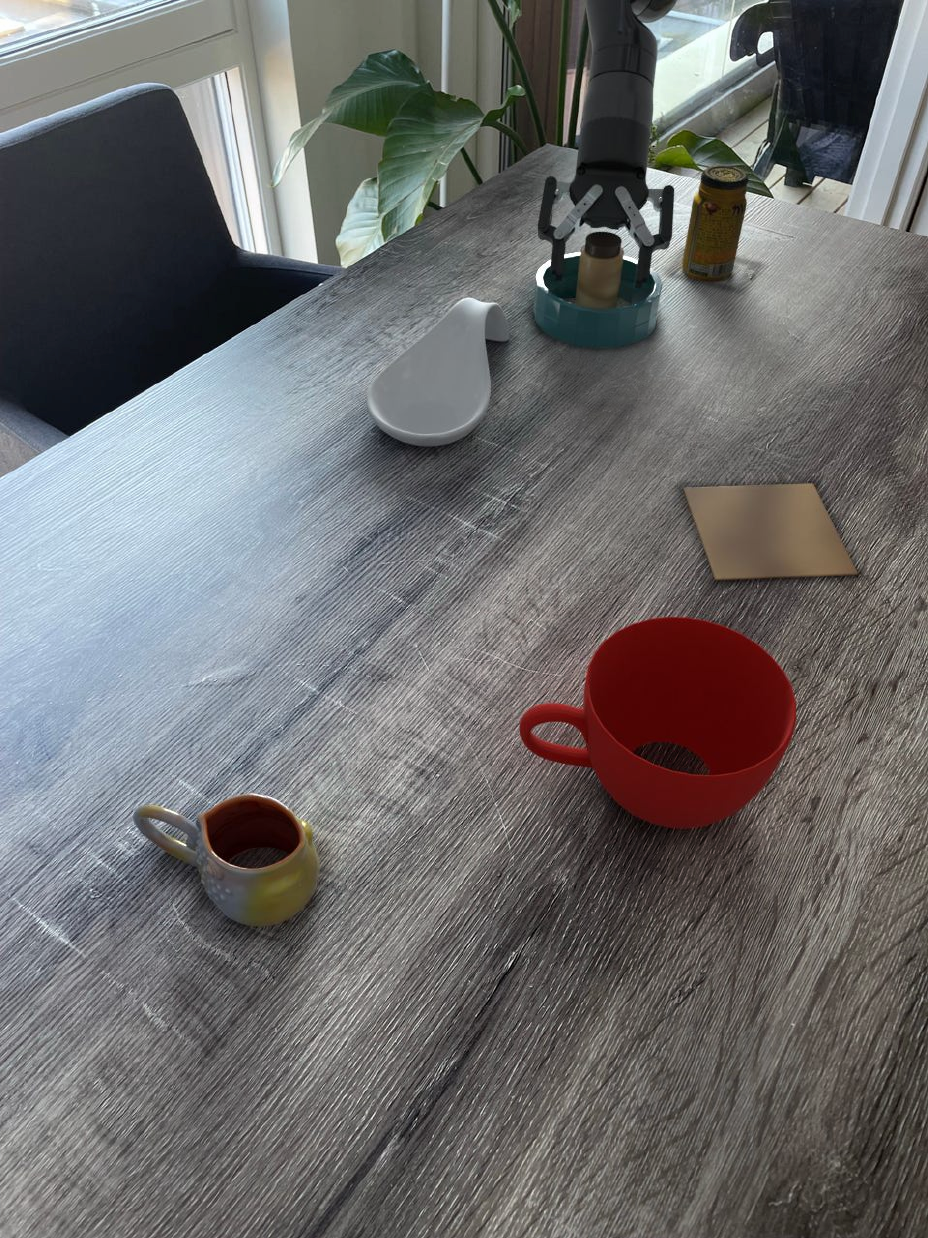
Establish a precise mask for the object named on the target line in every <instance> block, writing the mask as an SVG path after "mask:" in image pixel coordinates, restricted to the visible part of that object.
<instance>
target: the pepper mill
mask: <svg viewBox="0 0 928 1238" xmlns="http://www.w3.org/2000/svg"><path fill="white" fill-rule="evenodd" d="M584 239H585V241H584V244H583V245H582V246H581V247H580V251H579V252H580V261H579V271H578V281H577V291H576V298H575V301H574V302H575V303H574V304H576V305H579V306H584V307H591V308H599V309H604V308H618V301H619V298H618V294H619V287H620V279H621V272H622V264H623V257H624V256H625V255H624V254H625V251H624V248H623V247H622V241H623V239H622V238H621V236H619V235H618V234H616V233H613V232H610V231H594V232H590V233H588V234H587V235H586V236H585V238H584Z"/></svg>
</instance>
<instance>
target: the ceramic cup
mask: <svg viewBox="0 0 928 1238" xmlns="http://www.w3.org/2000/svg"><path fill="white" fill-rule="evenodd" d="M582 699H583V701H582V708H579V707H576V706H573V705H569V704H565V703H559V702H546V703H541V704H540V703H539V704H537V705H535V706H532V707H531V708H529V709H528V710H526V712H524V714H523V715H522V716H521V718H520V720H519V724H518V725H519V727H518V728H519V736H520V740H521V741H522V743H523V745H524V746H525V747H526V748H527V750H528V751H530V752H531V753H532V754H534V755H535V756H537V757H539V758H541V759H543V760H546V761H550V762H553V763H557V764H561V765H568V766H575V767H579V768H581V767H582V768H589V769H593V772H594V773H595V776H596V777H597V778H598V780H599V782H600V784H601V785H602V787H603V788H604V790H605V791H606V792H607V793H608V794H609V795H610V797H611V798H612V799H613V800H614V801H615V803H617V804H618V805H619V806H620V807H621V808H622V809H624V810H625V811H627V812H628V813H629V814H631V815H633V816H634V817H636V818H638V819H639V820H641V821H643V822H647V823H648V824H649V823H650V824H652V825H654V826H659V827H664V828H668V829H682V830H683V829H684V830H685V829H686V830H687V829H696V828H701V827H707V826H709V825H712V824H715V823H718V822H721V821H724V820H725V819H727V818H729V817H731V816H733V815H734V814H735V813H738V812H739V811H740V810H743V808H745V807H746V805H749V803H750V802H751V801H752V800H753V799H754V798H755V797H756V796H757V795H758V794H759V793H760V792H761V791H762V790H763V789H764V787H765V786H766V785H767V783H768V782H769V780H770V779H771V777H772V776H773V774H774V772H775V771H776V769H777V767H778V765H779V764H780V762H781V760H782V759H783V757H784V755H785V753H786V752H787V749H789V748H788V747H789V745H790V743H791V741H792V739H793V735H794V731H795V728H796V724H797V701H796V695H795V693H794V687H793V685H792V683H791V681H790V680H789V678H788V676H787V674H786V672H785V671H784V670H783V668H782V667H781V666H780V664H779V663H778V662H777V661H776V659H775V658H774V657H773V656H772V655H771V654H769V652H768V651H767V650H765V649H764V647H762V646H761V645H759V643H757V642H755V641H754V640H752V639H750V638H749V637H748V636H746V635H745V634H744V633H743V634H742V633H740V632H738V631H736V630H734V629H732V628H729V627H727V626H726V625H722V624H719V623H716V622H712V621H709V620H705V619H700V618H693V617H687V616H662V617H653V618H648V619H645V620H641V621H637V622H634V623H632V624H629V625H627V626H625V627H623V628H621V629H619V630H617V631H615V632H614V633H613V634H611V635H610V636H609V637H608V638H606V639H605V640H604V641H603V642H602V643H601V645H600V646H599V647H598V648H597V649H596V650H595V651H594V652H593V655H592V658H591V660H590V662H589V664H588V666H587V670H586V674H585V680H584V685H583V698H582ZM546 723H565V724H569V725H571V726H573V727H575V728H576V729H577V730H578V732H580V735H581V736H582V738H583V741H584V743H585V748H583V747H574V746H568V745H563V744H556V743H553V742H549V741H546V740H544V739H541V738H539V737H538V736H536V734H534V733H533V732H532V730H533V729H534V728H535V727H537V726H539V725H542V724H546ZM657 742H659V743H670V744H675V745H678V746H681V747H684V748H686V749H688V750H690V751H691V752H693V753H694V754H695V755H697V757H699V758H700V760H702V761H703V763H704V764H705V766H706V767H707V769H708V771H709V774H710V775H709V774H691V773H686V772H680V771H675V770H671V769H668V768H666V767H662V766H660V765H657V764H654V763H652V762H650V761H649V760H646V759H644V758H642V757H640V756H638V755H636V754H635V753H634V751H635V750H636V749H638V748H640V747H642V746H645V745H647V744H651V743H657Z"/></svg>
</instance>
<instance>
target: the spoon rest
mask: <svg viewBox="0 0 928 1238" xmlns="http://www.w3.org/2000/svg"><path fill="white" fill-rule="evenodd" d="M508 323H509V322H508V320H507V317H506V313H505V312H504V310H503V308H502V306H500V304H499V303H497V302H483V301H480V300H478V299H475V298H474V297H465V298H462V299H460V300H459V301H457V303H455V304H454V305H453V306H452V307H451V308H449V310H447V312H446V313H445V314H444V315H443V317H441V319H439V320H438V321H437V322H436V323H435V324H434V325H433V326H432V327H431V328H430V329H429V330H428V331H426V332H425V333H424V334H423V335H422V336H421V337H419V338H418V339H417V340H416V341H415V342H414V343H412V344H411V345H410V346H409V347H407V348H406V349H405V350H404V351H403V352H402V353H400V354H399V355H397V357H395V358H394V359H393V360H392V361H391V362H390V363H388V365H386V367H385V368H383V369H382V370H381V371H380V372H379V373H378V374H377V375H376V376H375V377H374V379H373V380H372V382H371V383H370V384H369V386H368V388H367V391H366V395H365V407H366V411H367V413H368V415H369V417H370V418H371V420H372V421H373V422H374V424H375V425H376V426H377V427H378V428H379V429H380V430H381V431H382V432H384V433H385V434H387V435H388V436H390V437H392V438H393V439H395V440H398V441H400V442H402V443H404V444H409V445H411V446H416V447H439V446H440V447H441V446H445V445H448V444H449V445H450V444H452V443H455V442H458V441H460V440H462V439H463V438H465V437H466V436H467V435H469V434H470V433H471V432H472V431H474V430H475V429H476V427H477V426H479V424H480V423H481V421H482V420H483V418H484V417H485V415H486V413H487V411H488V409H489V406H490V402H491V395H492V394H491V393H492V382H491V373H490V366H489V365H490V364H489V358H488V352H487V344H486V340H489V341H496V342H507V341H509V340H510V328H509V324H508Z"/></svg>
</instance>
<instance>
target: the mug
mask: <svg viewBox="0 0 928 1238" xmlns="http://www.w3.org/2000/svg"><path fill="white" fill-rule="evenodd" d="M132 819H133V820H132V821H133V823H134V825H135V827H136V828H137V830H138V831H139V832H140V833H141V835H143V836H144V837H145V838H146V839H147V840H148V841H150V842H151V843H152V844H154V845H156V847H158V848H160V849H161V850H162V851H164V852H165V853H167V854H169V855H171V856H173V857H174V858H176V859H178V860H179V861H182V862H184V863H186V864H189V865H191V866H193V867H195V868H197V869H198V872H199V875H200V882H201V884H202V885H203V887H204V891H205V893H206V895H207V896H208V898H209V900H211V902H212V903H213V904H214V905H215V906H216V908H217V909H218V910H219V911H220V912H221V913H222V914H224V915H225V917H227V918H229V919H230V920H232V921H234V922H236V923H238V924H241V925H243V926H249V927H260V928H261V927H263V928H265V927H272V926H275V925H279V924H281V923H284V922H285V921H288V920H289V919H291V918H293V917H294V916H296V914H299V912H300V911H302V910H303V909H304V908H305V907H306V905H307V904H308V903H310V900H311V899H312V898H313V896H314V894H315V893H316V890H317V887H318V886H319V885H318V884H319V880H320V872H321V871H320V869H321V865H320V856H319V853H318V849H317V846H316V844H315V841H314V831H313V828H312V826H311V825H310V824H309V822H307V821H306V820H304V819H303V818H300V817H298V816H297V815H296V814H295V812H294V811H293V810H292V809H290V807H288V805H286V804H285V803H283V802H281V801H280V800H278V799H276V798H275V797H272V796H268V795H264V794H257V793H256V792H255V791H254V792H248V793H246V794H238V795H234V796H230V797H228V798H226V799H224V800H222V801H220V802H219V803H217V804H215V805H214V806H213V807H212V808H210V809H209V810H207V811H205V812H200V813H198V814H197V815H196V817H195V822H193V820H190V819H189V818H187V817H186V816H185V815H182V814H181V813H178V812H177V811H175V810H171V809H169V808H166V807H164V806H160V805H156V804H142V805H140V806H138V807H136V809H135V810H134V811H133V814H132ZM151 819H152V820H156V821H160V822H161V823H164V824H168V825H169V826H172V827H173V828H175V829H177V830H179V831H180V832H182V833H184V834H185V835H186V837H185V840H184V842H183V841H181V840H178V838H175V837H173V836H171V835H170V834H168V833H166V832H165V831H163V830H162V829H161V828H160V827H159V826H157V825H156V824H155V823H154V821H152V820H151ZM265 848H266V849H273V850H279V851H281V852H284V853H286V854H287V855H288V856H286V857H285V858H283V859H282V860H279V861H277V862H275V863H273V864H270V865H268V866H264V867H258V868H247V867H240V866H238V865H233V864H231V863H230V862H231V861H232V860H233V859H235V858H236V857H238V856H240V855H242V854H243V853H245V852H249V851H252V850H256V849H265Z"/></svg>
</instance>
